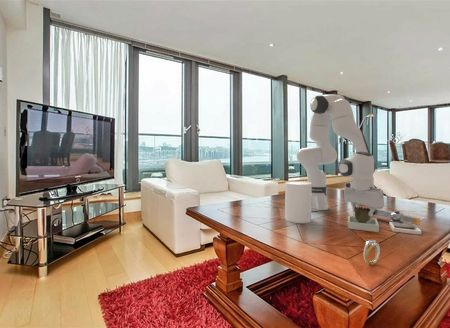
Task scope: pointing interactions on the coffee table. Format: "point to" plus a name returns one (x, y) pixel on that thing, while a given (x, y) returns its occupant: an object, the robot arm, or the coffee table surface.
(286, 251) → the coffee table surface
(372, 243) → the ring
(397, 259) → the coffee table surface
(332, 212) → the coffee table surface
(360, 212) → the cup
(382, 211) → the crank
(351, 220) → the tray
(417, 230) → the tray
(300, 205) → the canister
